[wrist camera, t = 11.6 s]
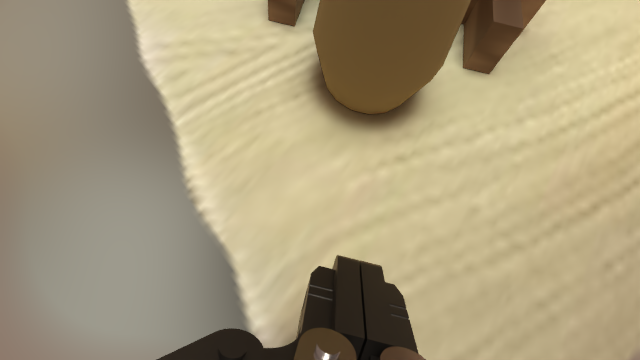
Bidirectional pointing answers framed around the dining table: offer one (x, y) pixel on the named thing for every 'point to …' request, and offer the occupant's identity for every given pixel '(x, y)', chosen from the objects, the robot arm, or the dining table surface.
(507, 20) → the walnut wall board
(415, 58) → the squeeze bottle
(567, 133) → the dining table surface
